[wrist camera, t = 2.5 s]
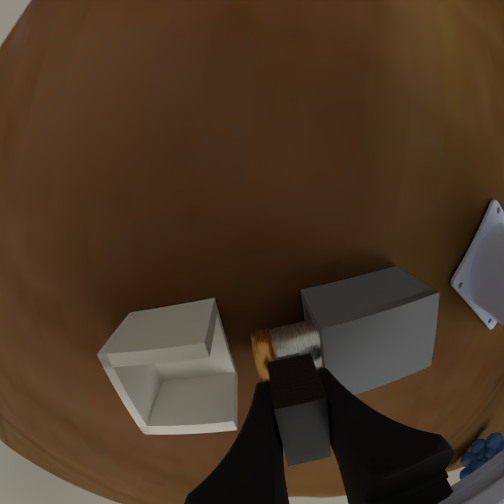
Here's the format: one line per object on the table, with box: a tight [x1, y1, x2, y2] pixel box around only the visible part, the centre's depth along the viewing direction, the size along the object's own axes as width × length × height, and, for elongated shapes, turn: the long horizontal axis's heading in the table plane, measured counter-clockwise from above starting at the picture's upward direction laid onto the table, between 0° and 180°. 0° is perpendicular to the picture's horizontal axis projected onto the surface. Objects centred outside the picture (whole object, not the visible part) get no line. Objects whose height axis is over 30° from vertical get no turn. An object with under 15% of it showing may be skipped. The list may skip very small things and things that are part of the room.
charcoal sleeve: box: [300, 266, 440, 395], centre depth 14 cm, size 6×5×5 cm
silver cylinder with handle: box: [251, 320, 330, 466], centre depth 12 cm, size 9×4×8 cm, turn 102°
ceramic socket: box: [97, 298, 238, 434], centre depth 15 cm, size 6×6×5 cm
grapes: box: [460, 432, 504, 480], centre depth 18 cm, size 12×7×12 cm, turn 166°
